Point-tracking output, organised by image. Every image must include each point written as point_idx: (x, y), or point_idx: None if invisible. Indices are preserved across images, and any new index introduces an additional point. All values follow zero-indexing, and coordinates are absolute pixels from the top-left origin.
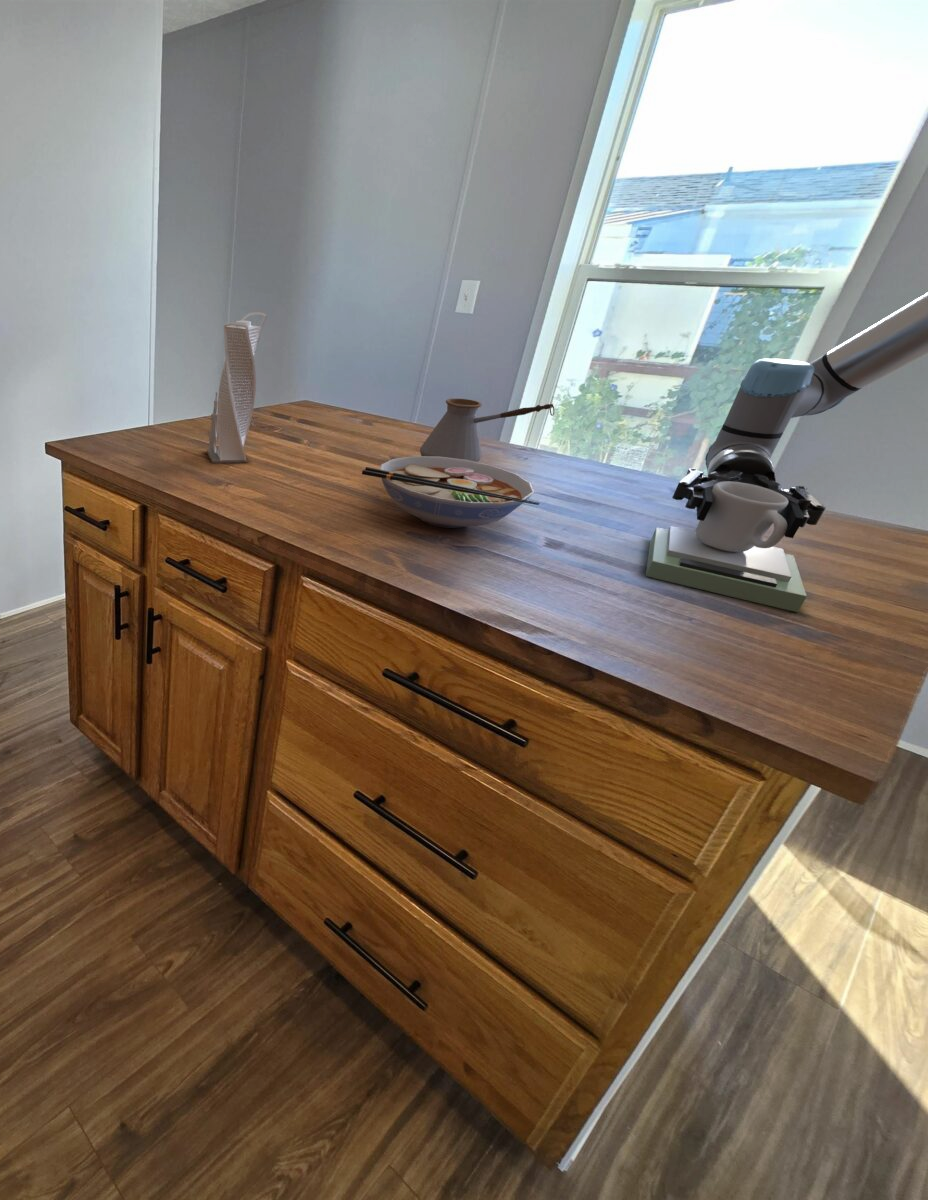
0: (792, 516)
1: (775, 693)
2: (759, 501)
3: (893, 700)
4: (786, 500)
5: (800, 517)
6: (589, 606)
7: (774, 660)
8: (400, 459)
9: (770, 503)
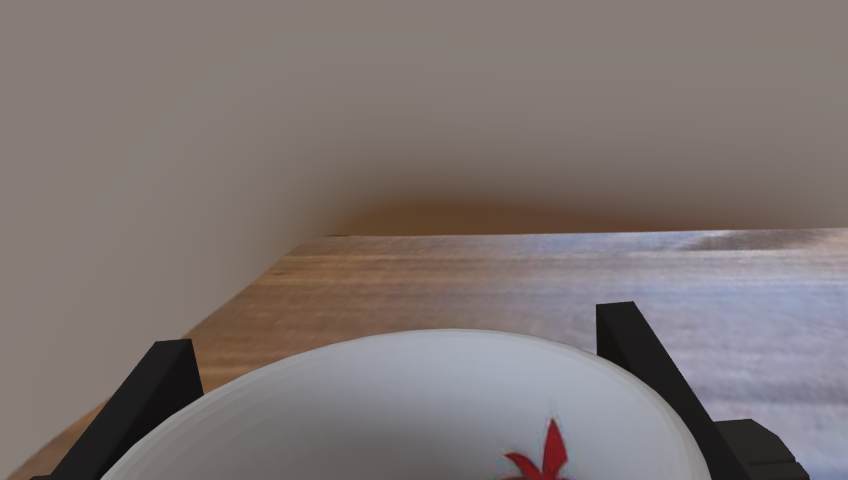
0: (164, 407)
1: (363, 286)
2: None
3: None
4: (119, 465)
5: (166, 344)
6: (695, 325)
7: None
8: None
9: (287, 357)
